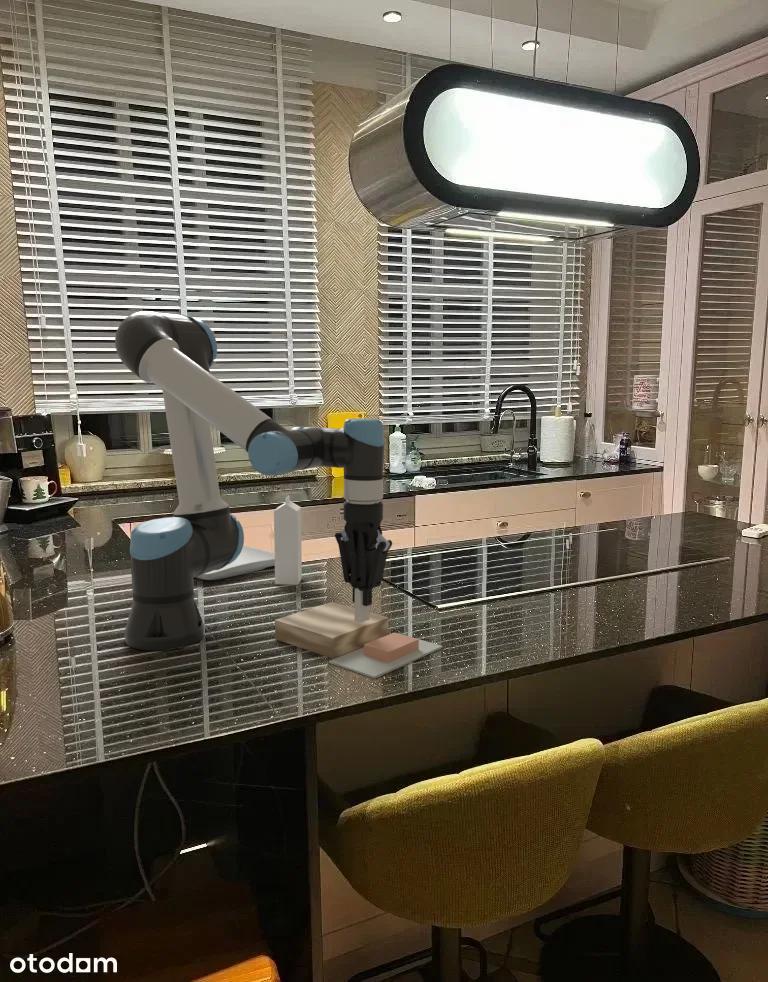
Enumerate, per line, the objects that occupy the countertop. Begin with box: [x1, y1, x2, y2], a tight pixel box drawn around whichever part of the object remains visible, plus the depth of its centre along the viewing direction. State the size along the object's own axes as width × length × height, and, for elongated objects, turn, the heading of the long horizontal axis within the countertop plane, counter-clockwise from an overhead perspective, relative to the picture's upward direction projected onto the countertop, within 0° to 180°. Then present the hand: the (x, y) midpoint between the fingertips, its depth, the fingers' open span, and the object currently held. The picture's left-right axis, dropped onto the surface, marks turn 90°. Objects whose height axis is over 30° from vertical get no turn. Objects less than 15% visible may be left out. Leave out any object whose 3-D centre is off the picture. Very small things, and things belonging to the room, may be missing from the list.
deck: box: [274, 601, 389, 660], centre depth 150 cm, size 16×16×4 cm
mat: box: [328, 632, 443, 680], centre depth 141 cm, size 20×11×1 cm, turn 140°
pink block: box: [364, 632, 420, 663], centre depth 142 cm, size 9×6×2 cm, turn 140°
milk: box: [273, 494, 303, 586], centre depth 191 cm, size 6×6×22 cm
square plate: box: [195, 545, 275, 581], centre depth 206 cm, size 27×27×4 cm
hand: (361, 620), depth 146 cm, fingers closed
